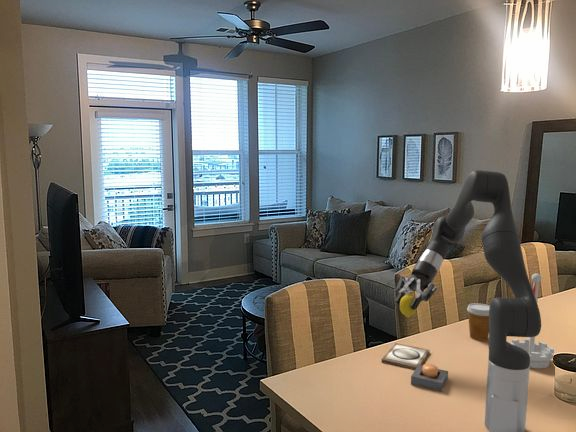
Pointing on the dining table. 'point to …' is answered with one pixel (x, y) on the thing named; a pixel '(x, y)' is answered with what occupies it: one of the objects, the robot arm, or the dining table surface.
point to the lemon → (406, 305)
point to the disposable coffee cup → (478, 321)
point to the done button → (430, 371)
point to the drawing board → (405, 356)
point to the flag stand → (537, 352)
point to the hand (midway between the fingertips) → (404, 306)
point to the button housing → (429, 379)
